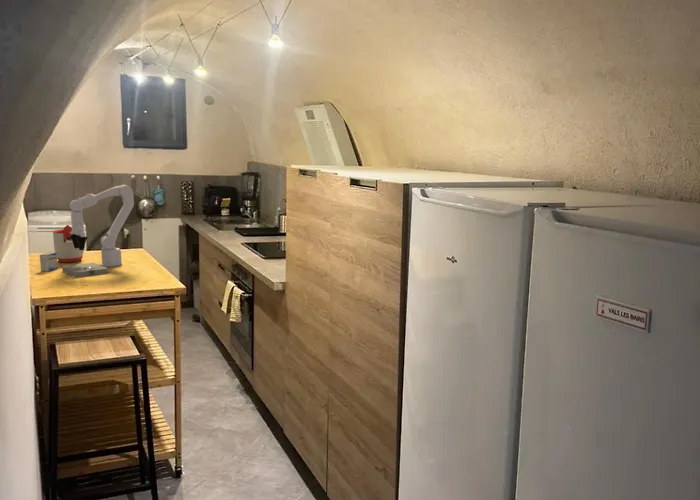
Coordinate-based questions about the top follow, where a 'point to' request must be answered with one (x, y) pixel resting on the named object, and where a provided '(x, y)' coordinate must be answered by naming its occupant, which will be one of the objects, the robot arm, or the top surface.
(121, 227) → the robot arm
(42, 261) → the medicine box
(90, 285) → the top surface
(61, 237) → the citrus juicer
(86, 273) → the board
